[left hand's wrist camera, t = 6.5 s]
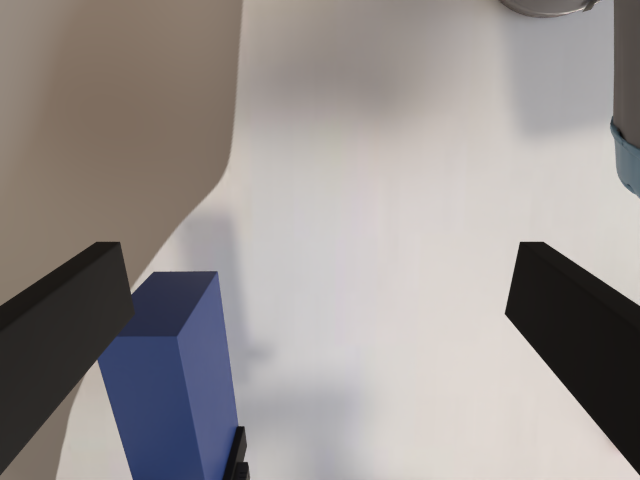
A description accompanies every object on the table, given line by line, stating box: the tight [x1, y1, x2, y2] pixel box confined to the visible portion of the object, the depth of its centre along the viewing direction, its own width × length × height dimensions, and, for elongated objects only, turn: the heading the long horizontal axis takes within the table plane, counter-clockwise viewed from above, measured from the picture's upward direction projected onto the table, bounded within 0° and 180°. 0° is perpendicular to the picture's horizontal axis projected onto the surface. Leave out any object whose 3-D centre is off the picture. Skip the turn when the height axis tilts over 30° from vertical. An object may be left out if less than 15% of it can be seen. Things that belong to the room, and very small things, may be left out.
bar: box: [97, 271, 238, 480], centre depth 31 cm, size 23×6×9 cm, turn 1°
